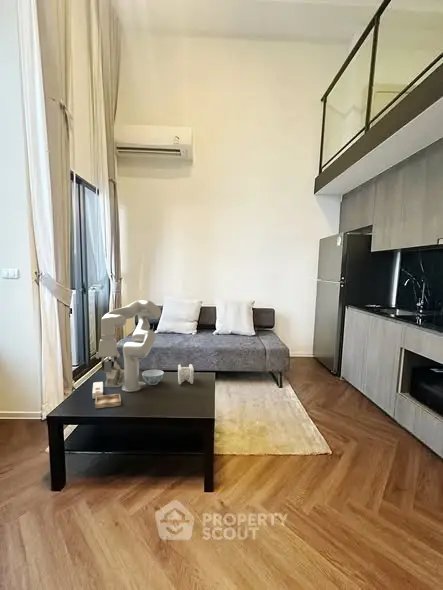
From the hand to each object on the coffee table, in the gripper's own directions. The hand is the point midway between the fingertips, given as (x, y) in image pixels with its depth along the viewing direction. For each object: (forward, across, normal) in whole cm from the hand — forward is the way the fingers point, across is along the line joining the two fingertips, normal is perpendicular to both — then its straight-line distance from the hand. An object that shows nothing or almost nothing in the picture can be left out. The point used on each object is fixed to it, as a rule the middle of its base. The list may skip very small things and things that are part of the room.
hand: (107, 367), depth 186 cm
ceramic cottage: (+22, -7, -32) cm, 39 cm away
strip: (+21, +6, -19) cm, 29 cm away
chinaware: (+21, -30, -26) cm, 45 cm away
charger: (+5, 0, +3) cm, 5 cm away
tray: (+21, 0, 0) cm, 21 cm away
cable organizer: (+21, -53, -24) cm, 62 cm away
